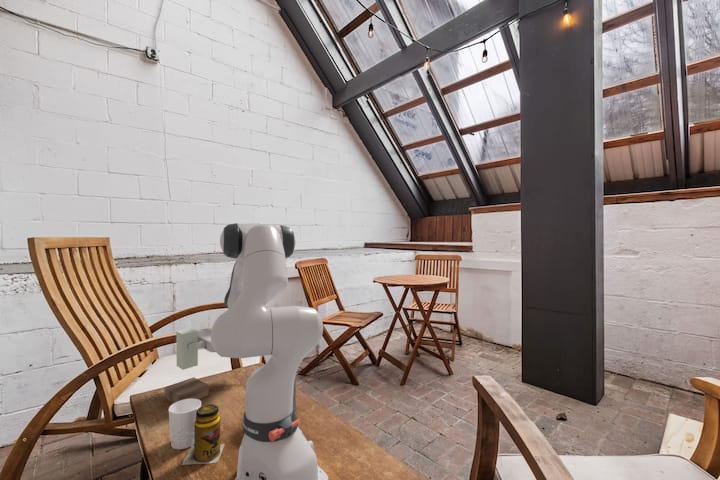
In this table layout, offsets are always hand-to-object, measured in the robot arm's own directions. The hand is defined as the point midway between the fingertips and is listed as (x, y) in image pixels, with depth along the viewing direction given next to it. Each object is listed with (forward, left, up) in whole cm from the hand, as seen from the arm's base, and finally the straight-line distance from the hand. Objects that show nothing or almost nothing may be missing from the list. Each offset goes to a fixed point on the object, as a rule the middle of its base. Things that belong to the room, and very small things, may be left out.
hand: (184, 344), depth 117 cm
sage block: (0, -1, -7) cm, 8 cm away
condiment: (-35, +9, -18) cm, 41 cm away
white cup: (-26, +10, -18) cm, 33 cm away
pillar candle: (-34, -15, -18) cm, 41 cm away
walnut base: (0, -1, -19) cm, 19 cm away
